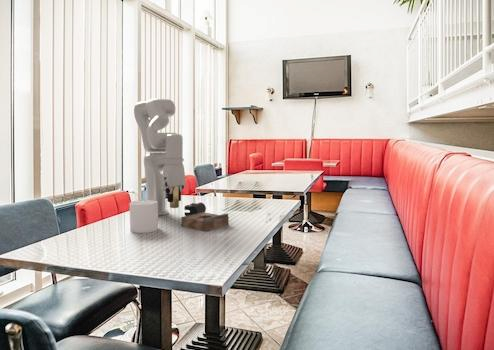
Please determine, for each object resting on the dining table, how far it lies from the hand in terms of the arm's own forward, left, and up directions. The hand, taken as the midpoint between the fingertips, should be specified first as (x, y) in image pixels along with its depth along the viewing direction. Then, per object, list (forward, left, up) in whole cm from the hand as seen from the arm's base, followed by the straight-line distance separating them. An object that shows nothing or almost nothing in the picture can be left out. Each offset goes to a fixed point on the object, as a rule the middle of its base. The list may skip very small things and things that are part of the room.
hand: (174, 200), depth 175 cm
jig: (+13, +7, -11) cm, 18 cm away
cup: (-2, -15, -11) cm, 19 cm away
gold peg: (0, 0, -3) cm, 3 cm away
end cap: (-4, +17, -11) cm, 20 cm away
